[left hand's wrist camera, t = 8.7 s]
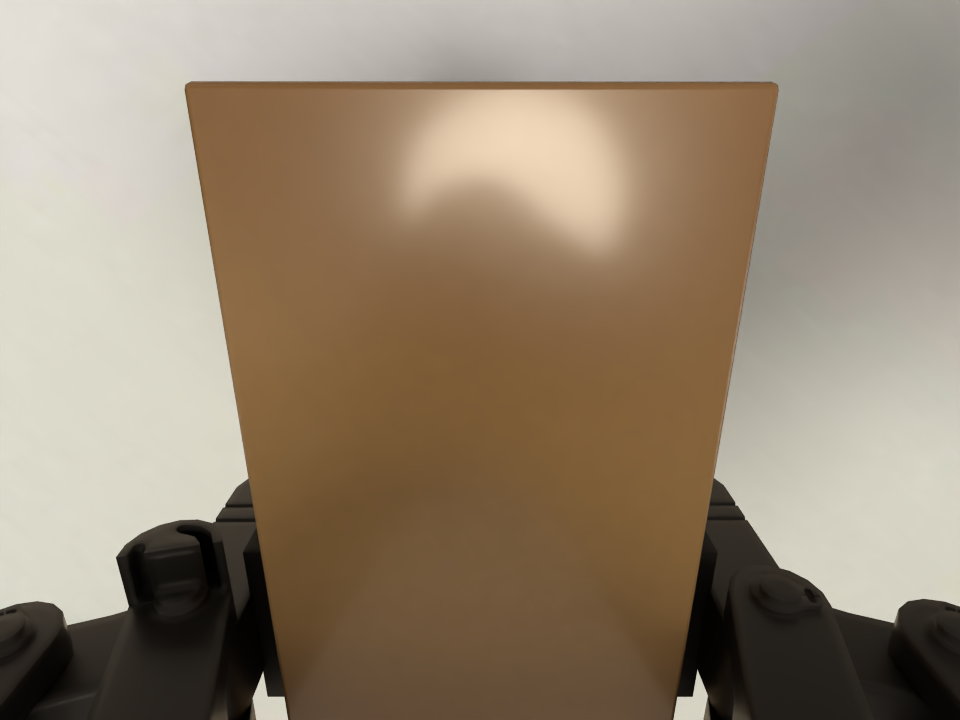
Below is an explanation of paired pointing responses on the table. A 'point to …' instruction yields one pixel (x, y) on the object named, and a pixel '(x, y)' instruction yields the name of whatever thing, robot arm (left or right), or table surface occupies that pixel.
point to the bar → (481, 377)
